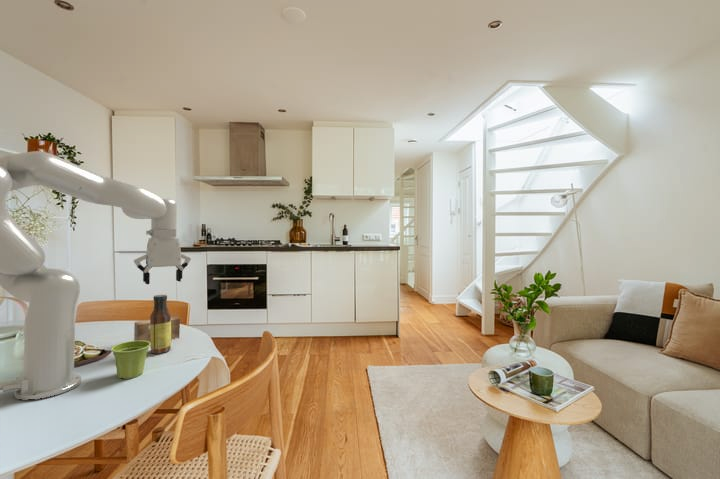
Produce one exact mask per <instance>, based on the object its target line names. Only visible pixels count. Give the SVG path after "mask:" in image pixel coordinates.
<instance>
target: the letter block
mask: <svg viewBox="0 0 720 479" xmlns="http://www.w3.org/2000/svg"><path fill="white" fill-rule="evenodd" d="M170 317H171V339H173V340H176V339H175V338H178V339H180V333H181V332H180V330H181V329H180V328H181V327H180V325H181V323H180V322H181V319H180V317H178V316H177V315H174V316H170ZM150 321H151V320H150V319H146V320H140V321H139V320H138V321H134V329H133V330H134V331H133V332H134V333H133V341H149V342H150Z"/></svg>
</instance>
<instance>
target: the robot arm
mask: <svg viewBox="0 0 720 479" xmlns="http://www.w3.org/2000/svg"><path fill="white" fill-rule="evenodd" d="M33 186H42V187H44V188H47V189H50V190H52V191H55V192H59V193H61V194H64V195H66V196H67V195H68V196H70V197H73V198H75V199H78V200H81V201H84V202H87V203H91V204H95V205H101V206H111V207H117V208H121V210H122V213H123V214H125V215H126V217H129V218H131V219H136V220H151V223H150V224H151V225H150V230H146V232H145V235H149V236H150V237H148V240H147V245H146V253H145V254H144V255H142V256H139V257H136V259H133V263H134V264H135V266H136V268H138V269H139V270H140V271H141V272H142V281H143V283H144V284H146V285H150V280H151V279H150V278H151V277H150V276H151V274H150V272H149V271H150V270H151V269H152V268H161V267H162V268H165V267H175V268H177V269H176V271H175V273H176V274H175V280H176V281H177V282H181V281H182V279H183V271H184V270H185V268H186V267H187V266H188V265H189V263H190V262H191V257H190V256H187V255H185V254H182V251H181V243H180V239H179V237H177V207H178V206H177V205H178V204H177V203H176V201H175V200H174V199H169V198H168V199H167V198H161V197H160V196H158V195H156V194H154V193H152V192H150V191H148V190H145V189H143V188H141V187H138V186H135V185H132V184H130V183H126V182H123V181H121V180H116V179H113V178H111V177H107V176H104V175H101V174H99V173H96V172H94V171H91V170H89V169H87V168H86V167H83V166H81V165H79V164H76V163H73V162H71V161H69V160H66V159H65V158H62V157H59V156H57V155H55V154H52V153H49V152H45V151H41V150H35V151H34V150H33V151H28V152H27V151H26V152H20V153H19V152H18V153H15V154H11V155H5V156H0V287H1V288H2V289H4V290H5V291H6V292H7V293H8V294H10V295H11V297H14V298H15V299H17V300H20V301H22V302H26V303H28V308H27V311H26V314H25V319H24V328H23V329H24V332H23V333H24V334H23V336H24V339H23V340H24V342H23V372H22V374H21V376H19V377H16V378H15V379H13V380H6V381H1V382H0V391H2V393H7V392H10V391H14V392H13V393H14V394H13V396H14V398H15V399H16V400H19V399H22V400H21V401H29V400H28V399H35V400H41V399H40V398H42V399H45V398H46V397H47V398H50V396H51V397H54V395H55V396H57V395H61V394H64V393H67V392H68V391H71V390H72V389H74V388H77V387H78V386H79V385H80V384H81V383H82V376H81V375H79V374H77V373H75V349H76V348H75V346H76V345H75V343H76V341H75V340H76V312H77V306H78V301H79V296H80V290H81V286H80V283H79V280H78V279H77V277H75V276H74V274H72V273H70V272H67V271H65V270H61V269H55V268H49V267H46V266H45V265H44V263H45V261H46V253H45V251H44V249H43V248H42V247H41V246H40V245H39V244H38V242H36V241H35V239H33V238H32V236H30V235H29V234H28V233H27V232H26V231H25V230H24V229H23V228H22V226H20V225H19V223H17V222H16V220H15V219H14V218H13V216H11V214H10V212H8V209H7V206H6V200H7V196H8V194H9V193H10V192H11V191H17V190H20V189H24V188H29V187H33ZM182 259H183V260H184V262H182ZM144 260H145V265H144V266H143V265H142V264H141V263H142V261H144ZM47 398H46V399H47Z"/></svg>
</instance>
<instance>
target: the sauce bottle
mask: <svg viewBox="0 0 720 479" xmlns="http://www.w3.org/2000/svg"><path fill="white" fill-rule="evenodd" d="M152 298H153V311H152V312H151V314H150V316H149V317H150V318H149V320H151V321H150V343H151V345H150V346H149V347H150V353H152V354H157V355H159V354H164V353H167V352H169V351H171V349H172V340H171V317H172V316H171V314H170V312H169V309H168V304H167V299H168V295H167V294H156V295H153V297H152Z"/></svg>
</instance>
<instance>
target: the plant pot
mask: <svg viewBox="0 0 720 479" xmlns="http://www.w3.org/2000/svg"><path fill="white" fill-rule="evenodd" d="M150 345H151V343H150V342H149V341H134V340H131V341H124V342H121V343H118V344H115V345H114V346H112V347H111V349H110V350H111V352H112V355H113V356H114V361H115V366H116V367H115V368H116V374H117V378H118V379H125V380H128V379H132V378H136V377H139V376H140V375H142V374H143V373H144V370H145V364H146V358H147V353H148V351H149V347H150Z"/></svg>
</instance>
